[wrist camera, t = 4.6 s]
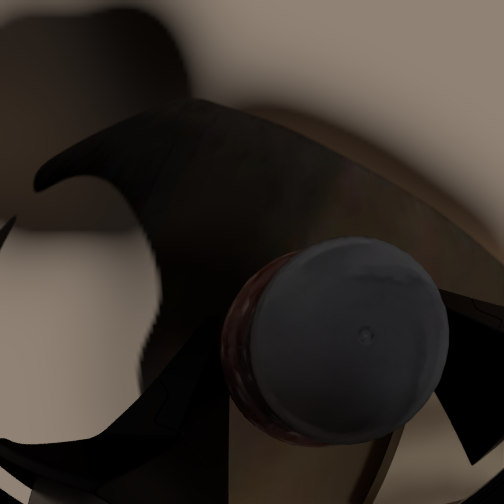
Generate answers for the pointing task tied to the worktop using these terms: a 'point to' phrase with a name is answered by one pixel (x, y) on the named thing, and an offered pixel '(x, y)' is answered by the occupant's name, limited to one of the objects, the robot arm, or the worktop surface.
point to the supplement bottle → (335, 343)
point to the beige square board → (430, 463)
